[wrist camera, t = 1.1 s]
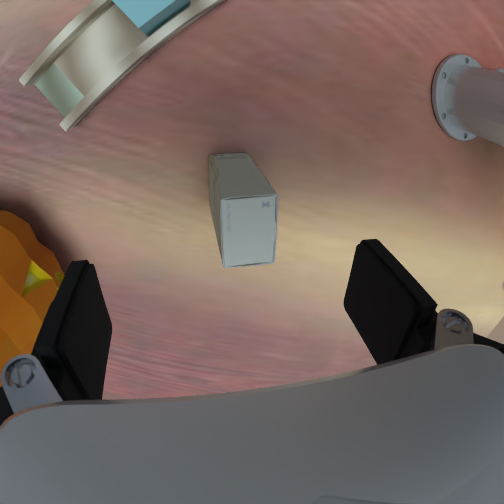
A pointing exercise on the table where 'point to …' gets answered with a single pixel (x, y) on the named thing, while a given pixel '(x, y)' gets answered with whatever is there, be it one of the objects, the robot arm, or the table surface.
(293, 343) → the table surface
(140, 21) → the block
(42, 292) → the decorative pumpkin
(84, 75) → the twin rail frame
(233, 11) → the table surface
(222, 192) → the skincare box
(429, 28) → the table surface
